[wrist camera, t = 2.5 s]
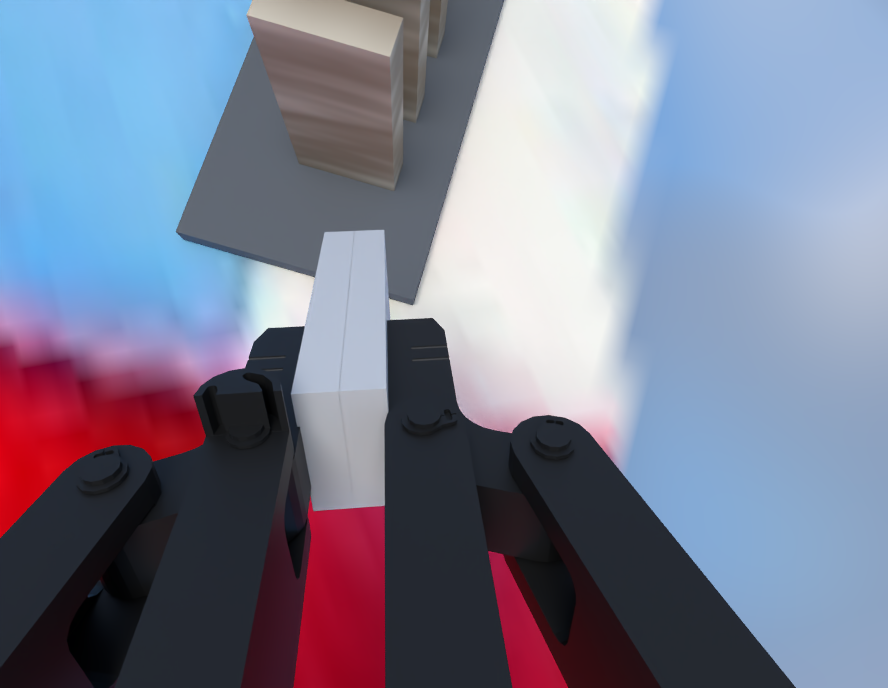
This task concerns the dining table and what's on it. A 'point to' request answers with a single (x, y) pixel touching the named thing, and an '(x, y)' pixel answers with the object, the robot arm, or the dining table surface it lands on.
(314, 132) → the domino
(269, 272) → the dining table surface
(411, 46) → the domino
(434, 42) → the domino
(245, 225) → the mat
